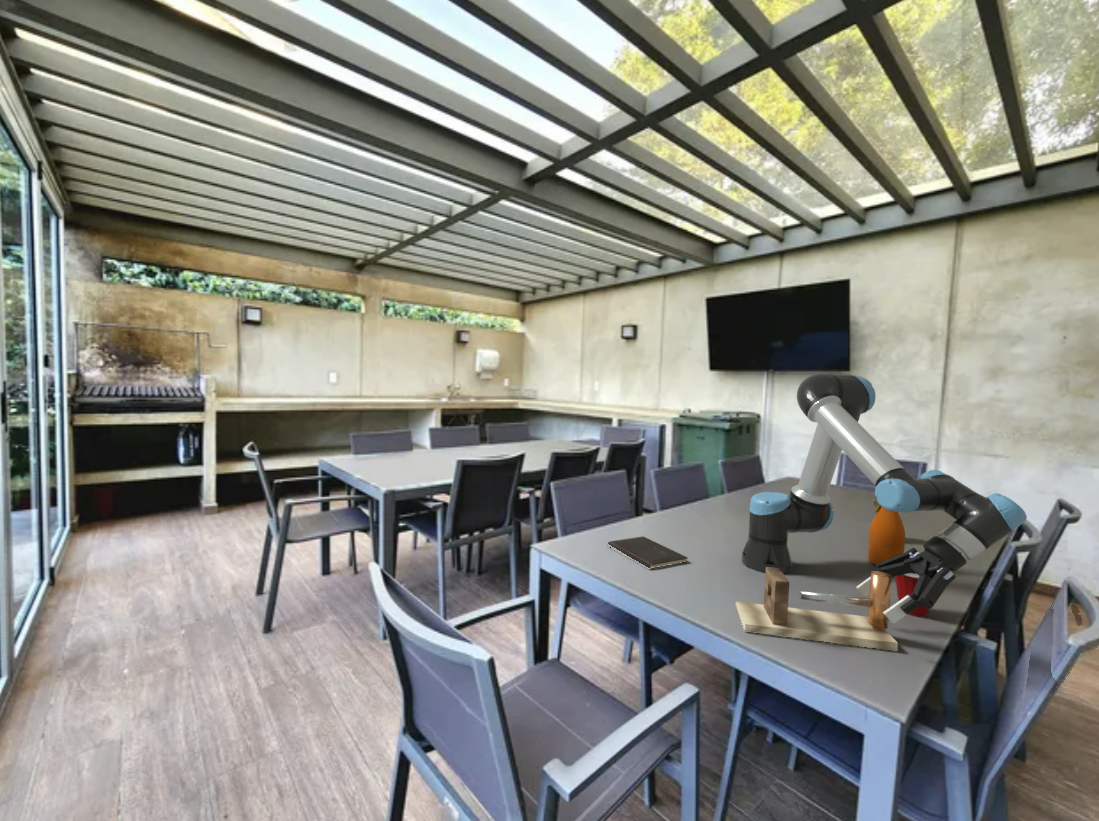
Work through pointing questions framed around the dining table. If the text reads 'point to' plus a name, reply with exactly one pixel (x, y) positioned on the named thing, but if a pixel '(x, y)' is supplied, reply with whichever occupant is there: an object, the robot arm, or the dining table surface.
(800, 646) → the dining table surface
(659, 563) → the hardcover book
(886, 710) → the dining table surface
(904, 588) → the plastic cup
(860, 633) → the copper canister stand
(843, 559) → the dining table surface
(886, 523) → the wine bottle
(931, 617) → the dining table surface
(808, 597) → the copper cylinder with rod
